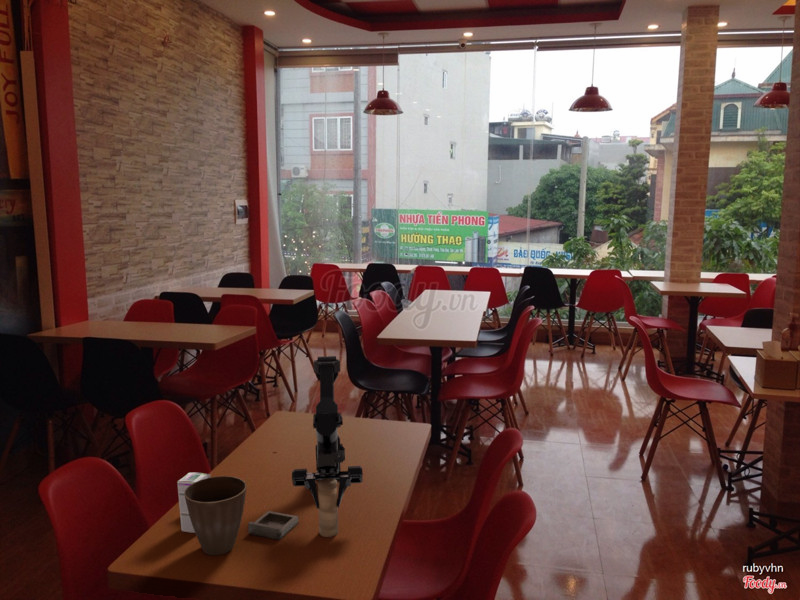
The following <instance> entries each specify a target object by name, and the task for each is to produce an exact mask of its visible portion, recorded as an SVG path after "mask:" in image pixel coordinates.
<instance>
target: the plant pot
mask: <svg viewBox="0 0 800 600" xmlns="http://www.w3.org/2000/svg"><path fill="white" fill-rule="evenodd" d="M246 493H247V482H246V481H245V480H244V479H241V478H240V477H235V476H231V475H230V476H228V475H219V476H218V475H217V476H210V478H206V479H202V480H199V481H197V482H195V483H193V484H191V485H190V486H188V487H187V488H186V490H185V492H184V495H185V499H186V504H187V508H188V512H189V516H190V519H191V523H192V526H193V528H194V531H195V533H194V534H195V536H196V538H197V540H198V543H199V545H200V547H201V549H202V551H203V552H204V554H206V555H208V556H222V555H225V554H227V553H229V552H230V551H231V550H233V549H234V546H235V542H236V541H237V538H238V537H237V536H238V534H239V530H240V526H241V522H242V518H243V514H244V508H245V502H246Z"/></svg>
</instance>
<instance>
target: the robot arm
mask: <svg viewBox="0 0 800 600" xmlns="http://www.w3.org/2000/svg"><path fill="white" fill-rule="evenodd" d="M340 372H341V358H340V359H337V356H336V355H328V356H327V355H325V356H317V359H314V360H313V373H314V374H315V375H316V376H315V377H316V378H317V379H318V381H319V383H320V384H319V388H320V389H319V402H318V403H317V404H316V406H315V413H313V415H312V416H313V420H312V428H313V429H315V434H316V435H315V436H316V444H315V461H316V464H315V465H316V466H315V470H316V472H308V468H296V469H293V470H292V471H291V482H292V486H293V487H304V488H305V489H306V490H309V491H310V493H311V495H312V498H313V501H314V503H315V507H316V509H317V510H319V505H318V488H317V483H316V481H319V480H321V479H325V478H332V479H335V480H337V482H338V489H337V507H338V509H339V508H340V506H341V503H342V499H343V497H344V494H345V492H346V489H347V488H348V487H351V485H352V484H361V483H363V478H364V477H363V475H364V474H363V472H364V471H363V467H362V466H361V465H355V466H354V465H353V466H351V465H350V466H347V470H342V471H341V463H344V461H346V448H345V447H344V445H343V443H341V438H340V436H339V434H338V428H341V426H343V424H344V423H343V420H344V419H343V416H342V414H341V412H339V411H338V410H339V409H338V408H339V407H338V403H336V401H335V383H336V381H337V379H338V377H339V373H340Z"/></svg>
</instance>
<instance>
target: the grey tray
mask: <svg viewBox="0 0 800 600" xmlns="http://www.w3.org/2000/svg"><path fill="white" fill-rule="evenodd" d="M247 524H248V525H247V528H248V535H251V534H252V536H256V535H257V537H261V538H266V539H272V540H275V541H276V540H278V541H280V540H283V538H284V537H285V536H286V535H287V534H288V533H290V531H292V530H293V529H294V527H296V526H297V525H298V524H299V516H298V515H293V514H288V513H282V512H277V511H271V510H267V511H266V512H265V513H263V515H261V516H260V517H259V518H257V519H256V520H255V521H249V522H248V523H247Z"/></svg>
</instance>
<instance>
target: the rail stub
mask: <svg viewBox="0 0 800 600" xmlns="http://www.w3.org/2000/svg"><path fill="white" fill-rule="evenodd" d="M317 496H318V505H319V509H318V526H319V528H318V530H319V531H318V532H319V535H320V536H321V537H323V538H332V537H334V536H337V535H338V534H339V510H338V509H339V508H338V507H337V499H338V481H337V480H335V479H332V478H325V479H321V480H317Z"/></svg>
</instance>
